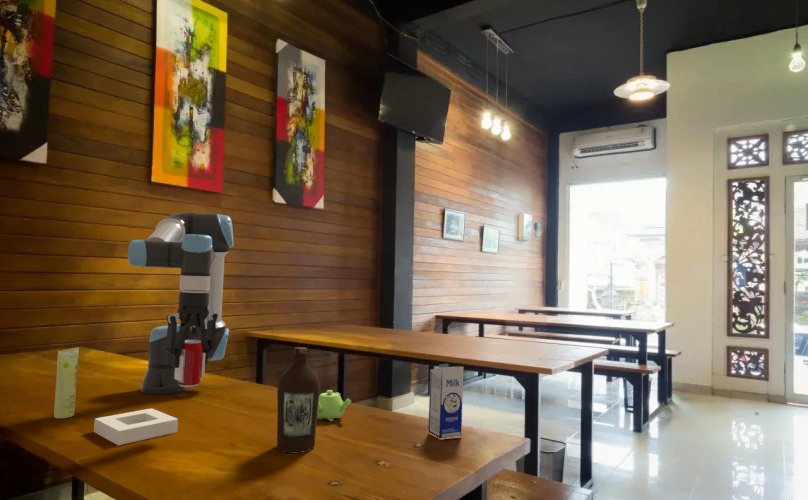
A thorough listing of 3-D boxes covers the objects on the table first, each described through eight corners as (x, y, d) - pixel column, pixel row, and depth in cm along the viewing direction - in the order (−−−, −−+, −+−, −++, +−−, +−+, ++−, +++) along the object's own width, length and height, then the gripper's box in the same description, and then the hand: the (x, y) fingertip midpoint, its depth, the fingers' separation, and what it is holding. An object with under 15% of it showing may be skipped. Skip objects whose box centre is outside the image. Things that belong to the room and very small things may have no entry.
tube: (74, 418, 145) (79, 349, 146) (52, 420, 142) (58, 350, 143) (74, 413, 149) (79, 347, 150) (53, 415, 147) (58, 347, 148)
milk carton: (440, 441, 137) (442, 366, 138) (427, 433, 143) (430, 362, 144) (461, 438, 140) (464, 365, 141) (448, 431, 146) (451, 361, 147)
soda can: (204, 384, 137) (207, 339, 137) (189, 388, 132) (192, 342, 132) (188, 381, 139) (190, 337, 139) (173, 385, 133) (175, 340, 134)
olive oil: (274, 441, 132) (279, 344, 133) (315, 439, 134) (320, 345, 135) (273, 455, 121) (279, 351, 123) (318, 453, 124) (323, 351, 125)
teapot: (342, 412, 162) (343, 385, 162) (351, 422, 151) (352, 394, 151) (307, 414, 158) (308, 387, 158) (313, 425, 147) (315, 395, 148)
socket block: (151, 420, 145) (151, 408, 145) (177, 432, 136) (178, 419, 136) (93, 431, 133) (94, 418, 134) (118, 445, 124) (119, 431, 124)
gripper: (217, 290, 146) (213, 371, 145) (153, 291, 131) (147, 380, 130) (232, 292, 141) (228, 375, 140) (167, 292, 126) (161, 385, 126)
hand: (189, 377), depth 135 cm, fingers closed on soda can, 5 cm apart
